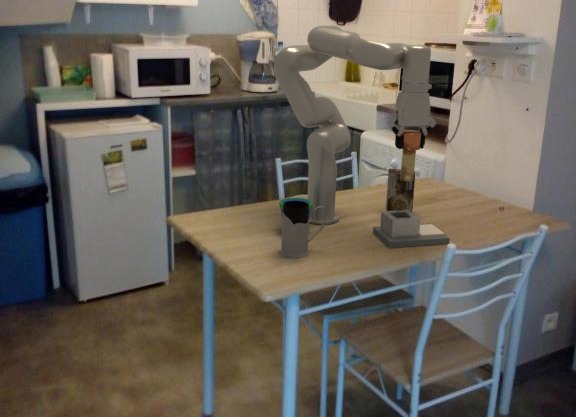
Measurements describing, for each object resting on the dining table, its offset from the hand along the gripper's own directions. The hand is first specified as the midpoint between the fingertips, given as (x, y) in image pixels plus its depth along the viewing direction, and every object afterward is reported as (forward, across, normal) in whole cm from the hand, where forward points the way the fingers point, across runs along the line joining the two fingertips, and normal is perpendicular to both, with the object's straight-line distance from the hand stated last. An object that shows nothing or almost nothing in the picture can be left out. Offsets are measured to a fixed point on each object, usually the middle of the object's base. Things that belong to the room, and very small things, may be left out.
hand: (409, 147), depth 189 cm
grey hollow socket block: (+28, +1, 0) cm, 28 cm away
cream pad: (+28, -8, 0) cm, 29 cm away
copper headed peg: (+10, 0, 0) cm, 10 cm away
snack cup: (+30, +32, -12) cm, 45 cm away
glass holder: (+30, +34, +5) cm, 45 cm away
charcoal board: (+30, -3, 0) cm, 30 cm away
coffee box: (+30, -9, -23) cm, 39 cm away
